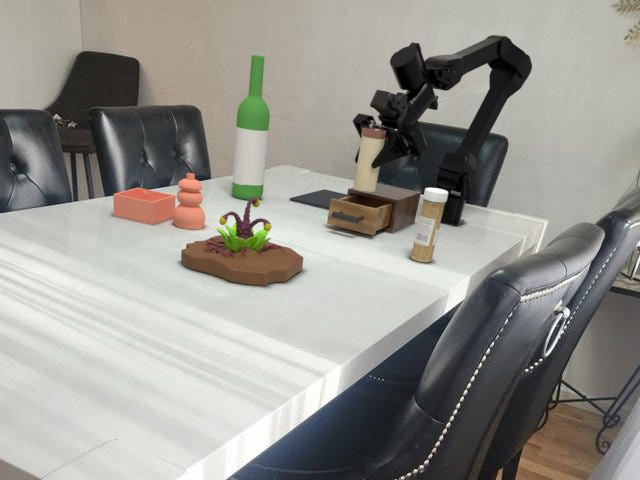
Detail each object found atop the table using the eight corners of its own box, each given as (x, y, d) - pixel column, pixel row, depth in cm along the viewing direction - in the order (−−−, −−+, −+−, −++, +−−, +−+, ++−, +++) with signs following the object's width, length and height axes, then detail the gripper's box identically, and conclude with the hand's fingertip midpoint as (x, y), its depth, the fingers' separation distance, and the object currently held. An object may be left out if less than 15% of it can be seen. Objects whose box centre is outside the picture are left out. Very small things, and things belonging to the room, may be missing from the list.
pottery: (113, 215, 133) (112, 163, 128) (137, 208, 141) (137, 158, 135) (192, 233, 129) (194, 180, 123) (212, 224, 137) (215, 174, 131)
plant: (319, 269, 119) (328, 204, 112) (260, 292, 104) (267, 219, 98) (231, 243, 126) (235, 181, 120) (164, 261, 112) (165, 192, 106)
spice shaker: (359, 185, 147) (368, 126, 140) (379, 190, 145) (390, 130, 138) (348, 188, 143) (358, 127, 136) (369, 193, 141) (380, 131, 134)
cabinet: (391, 233, 149) (398, 200, 145) (342, 220, 153) (347, 188, 149) (414, 222, 161) (421, 192, 157) (368, 211, 165) (373, 181, 161)
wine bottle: (261, 202, 159) (275, 58, 143) (230, 198, 159) (239, 53, 142) (262, 196, 166) (275, 57, 149) (232, 192, 165) (242, 52, 149)
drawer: (365, 238, 138) (370, 212, 135) (318, 226, 142) (322, 201, 139) (396, 225, 152) (401, 201, 149) (352, 214, 156) (356, 191, 153)
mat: (324, 191, 181) (324, 189, 180) (390, 206, 174) (390, 204, 173) (289, 200, 166) (290, 197, 165) (360, 217, 159) (361, 214, 158)
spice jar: (436, 262, 132) (453, 192, 124) (420, 263, 130) (437, 192, 122) (420, 255, 135) (437, 186, 127) (404, 257, 133) (420, 186, 125)
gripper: (366, 70, 139) (320, 126, 140) (430, 81, 128) (380, 143, 128) (385, 113, 148) (341, 166, 149) (446, 127, 137) (399, 184, 137)
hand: (363, 164), depth 140 cm, fingers closed on spice shaker, 5 cm apart
